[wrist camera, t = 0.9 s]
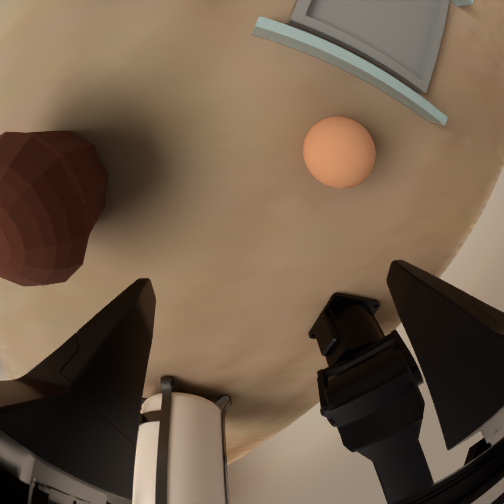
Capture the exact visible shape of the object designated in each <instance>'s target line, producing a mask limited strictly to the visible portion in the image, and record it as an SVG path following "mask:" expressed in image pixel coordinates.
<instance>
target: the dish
mask: <svg viewBox="0 0 504 504" xmlns="http://www.w3.org/2000/svg"><path fill="white" fill-rule="evenodd" d="M448 6H449V0H296V3H295V5H294V7H293V10H292V12H291V15H290V17H289V20H288V22H287V24H289V25H292V26H295V27H297V28H300V29H302V30H305V31H308V32H310V33H312V34H315V35H317V36H320V37H322V38H324V39H326V40H329V41H331V42H333V43H335V44H337V45H339V46H341V47H343V48H345V49H347V50H349V51H351V52H353V53H355V54H357V55H359V56H361V57H362V58H364V59H366V60H368V61H370V62H371V63H373V64H375V65H377V66H378V67H380V68H382V69H383V70H385V71H386V72H388V73H390V74H391V75H393V76H394V77H396V78H397V79H399V80H400V81H402V82H403V83H405V84H406V85H408V86H409V87H411V88H412V89H413V90H415V91H416V92H418V93H426V92H427V89H428V86H429V83H430V80H431V76H432V73H433V70H434V66H435V63H436V59H437V55H438V51H439V48H440V44H441V39H442V35H443V31H444V26H445V22H446V17H447V11H448Z"/></svg>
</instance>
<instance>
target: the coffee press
mask: <svg viewBox="0 0 504 504" xmlns="http://www.w3.org/2000/svg"><path fill="white" fill-rule="evenodd" d="M161 389H162V393H159V394H155V395H153V396H151V397H149V398H148V399H147V400H145V399H144V398H142V402H141V413H140V416H139V424H138V440H137V449H136V459H135V470H134V483H133V502H132V504H230V501H229V489H228V473H227V457H226V438H225V414H226V412H227V410H228V409H229V408H230V406H231V405H232V401H231V399H230V397H229V396H227V395H224V396H222V397H220V398H219V399H218V400H217V401H215V402H211V401H209V400H207V399H205V398H203V397H200V396H196V395H192V394H187V393H178V392H176V390H175V386H174V381H173V378H172V377H161ZM224 400H229V402H228V403H227V404H226V406H225V407H224V409H223V411H222V412H221V410H220V409H219V407H218V405H220V404H221V403H222V402H223V401H224ZM142 404H143V406H142ZM106 504H110V503H109V502H107V501H106Z"/></svg>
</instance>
